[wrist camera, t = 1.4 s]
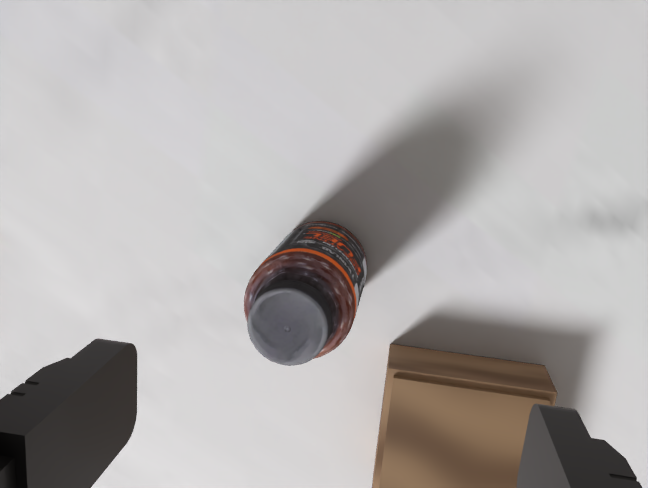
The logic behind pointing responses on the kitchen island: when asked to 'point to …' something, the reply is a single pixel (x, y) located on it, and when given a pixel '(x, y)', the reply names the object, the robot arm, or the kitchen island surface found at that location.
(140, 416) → the kitchen island surface
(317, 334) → the supplement bottle
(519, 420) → the plinth
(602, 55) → the kitchen island surface
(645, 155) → the kitchen island surface
